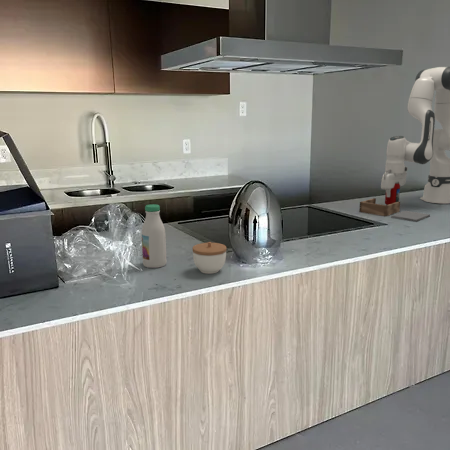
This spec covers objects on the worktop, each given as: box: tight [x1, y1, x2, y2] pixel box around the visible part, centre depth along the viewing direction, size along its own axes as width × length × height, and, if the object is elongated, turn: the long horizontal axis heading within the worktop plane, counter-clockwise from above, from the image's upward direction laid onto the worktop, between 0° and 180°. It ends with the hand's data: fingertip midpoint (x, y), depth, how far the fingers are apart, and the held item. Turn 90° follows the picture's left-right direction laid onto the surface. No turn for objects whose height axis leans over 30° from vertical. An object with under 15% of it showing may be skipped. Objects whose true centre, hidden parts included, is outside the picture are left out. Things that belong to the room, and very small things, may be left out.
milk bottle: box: [141, 204, 167, 269], centre depth 151 cm, size 8×8×20 cm
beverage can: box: [384, 182, 401, 205], centre depth 237 cm, size 7×7×12 cm
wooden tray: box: [358, 197, 401, 217], centre depth 230 cm, size 14×14×5 cm
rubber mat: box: [390, 210, 431, 223], centre depth 219 cm, size 15×12×1 cm
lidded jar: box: [191, 241, 227, 275], centre depth 147 cm, size 11×11×9 cm
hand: (392, 195), depth 237 cm, fingers closed on beverage can, 7 cm apart
